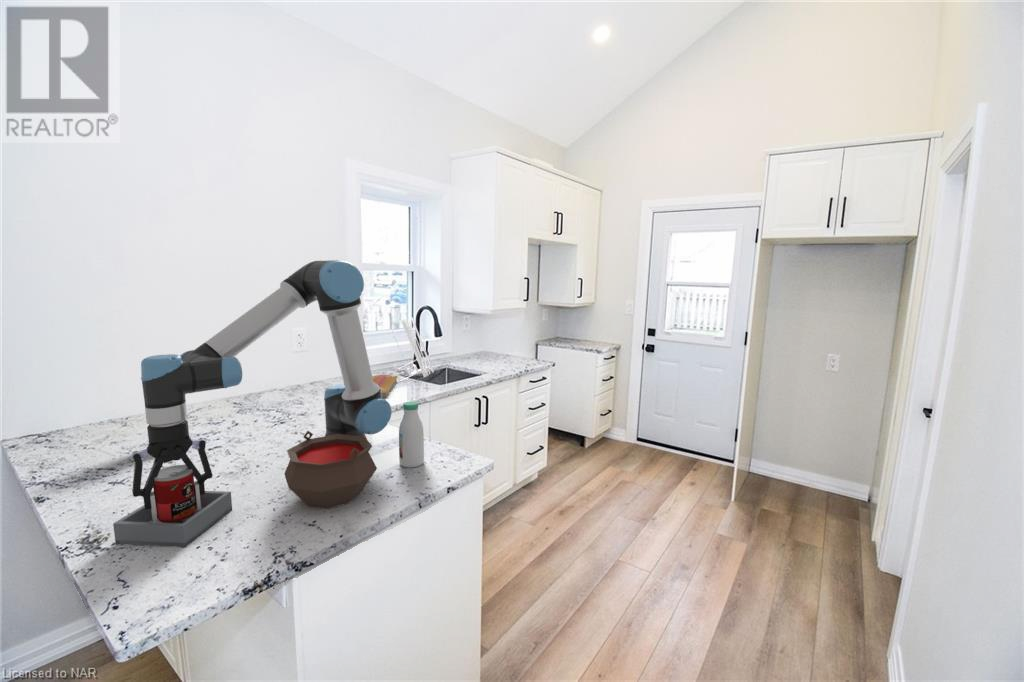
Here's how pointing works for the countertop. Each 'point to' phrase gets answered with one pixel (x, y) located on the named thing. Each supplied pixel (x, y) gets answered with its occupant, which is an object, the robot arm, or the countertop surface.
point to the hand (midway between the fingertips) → (177, 513)
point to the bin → (145, 532)
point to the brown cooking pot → (329, 469)
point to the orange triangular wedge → (385, 383)
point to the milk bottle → (411, 437)
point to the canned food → (174, 494)
